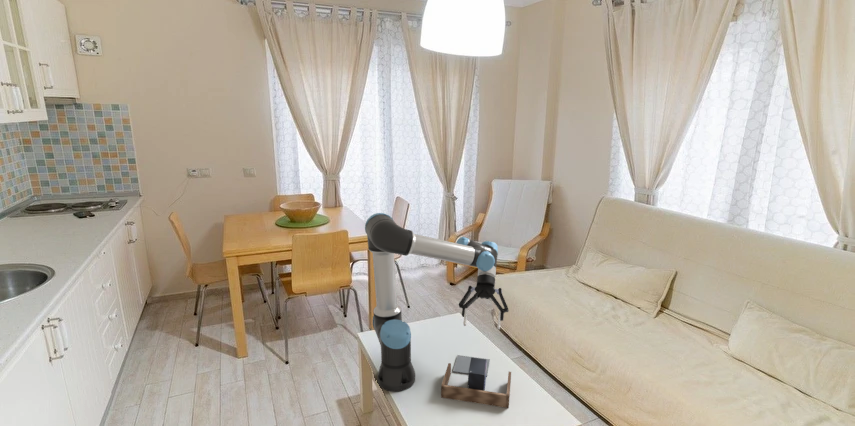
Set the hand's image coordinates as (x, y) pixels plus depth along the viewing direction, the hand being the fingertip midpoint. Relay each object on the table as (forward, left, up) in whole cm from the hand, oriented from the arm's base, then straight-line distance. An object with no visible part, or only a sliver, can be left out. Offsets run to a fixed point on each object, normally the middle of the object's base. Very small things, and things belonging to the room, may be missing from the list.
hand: (481, 326), depth 172 cm
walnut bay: (0, -11, -21) cm, 23 cm away
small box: (0, -11, -21) cm, 24 cm away
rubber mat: (-4, +3, -21) cm, 21 cm away
